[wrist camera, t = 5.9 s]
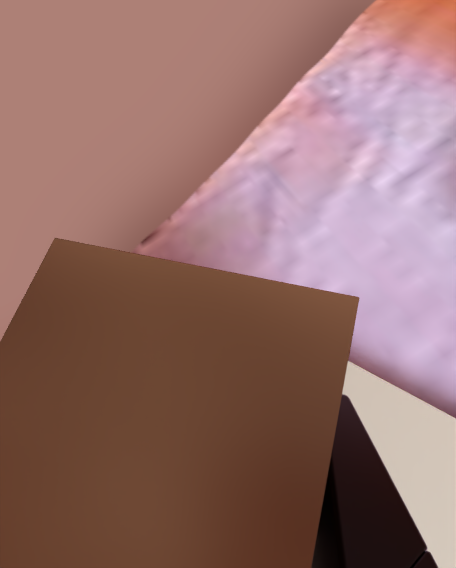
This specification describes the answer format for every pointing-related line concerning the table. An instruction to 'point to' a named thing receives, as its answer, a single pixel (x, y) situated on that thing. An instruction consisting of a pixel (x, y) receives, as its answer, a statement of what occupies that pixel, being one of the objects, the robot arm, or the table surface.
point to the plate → (412, 455)
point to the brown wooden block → (166, 414)
